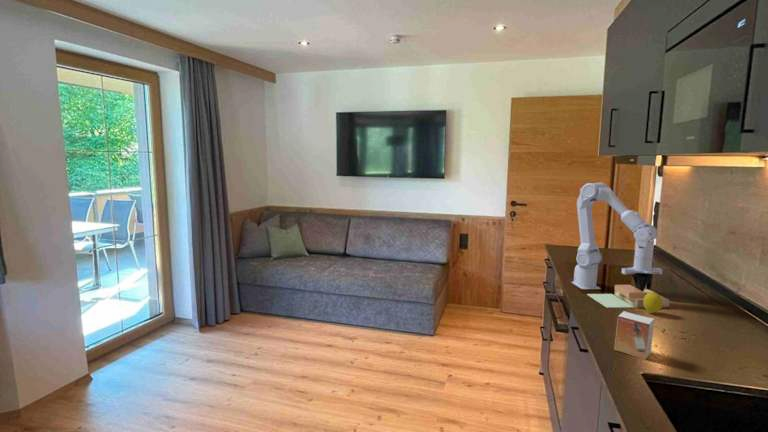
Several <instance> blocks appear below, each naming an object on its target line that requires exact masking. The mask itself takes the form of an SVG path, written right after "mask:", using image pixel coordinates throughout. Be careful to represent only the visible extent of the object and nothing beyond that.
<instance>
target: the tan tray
mask: <svg viewBox="0 0 768 432" xmlns="http://www.w3.org/2000/svg"><path fill="white" fill-rule="evenodd" d="M643 292H645V295H646V294H648V293H650V292H653V290H651V289H648V288H646V287H645V289H644V291H643ZM657 294H658V295H660V294H659V293H657ZM613 295H615V296H616V297H618V298H620V299H622V300H623V301H625V302H627V303H628V304H630V305H632V306H633V307H634V308H636V309H645V307H644V305H643V300H644V298H628V297H627V296H625V295H623V294H621V293H619V292H618V291H616V290H614V294H613ZM660 297H661V299H662V307H661V309H667V308H666V307H670V299H668V298H666V297H664V296H663V295H660Z"/></svg>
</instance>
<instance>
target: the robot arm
mask: <svg viewBox="0 0 768 432" xmlns="http://www.w3.org/2000/svg"><path fill="white" fill-rule="evenodd" d="M597 201H603V202H605V203H607V204H608V205H609V206H610V207H611V208H612V209H614V210H615V212H616V213H618V214H619V215H620V220H621V222H622V223H623V224H624V225H625V226H626V227H627V228H628V229H629V230H630V231H631V232H632V233H633V237H634V239H635V249H634V259H633V266H631V267H622V268H621V274H622V275H631V277H632V279H633V282H634V285H635V286H634V287H635V288H637V289H639V290H641V291H644V289H645V288H646V287H647V285H648V284H649V282H650V281H651V280H652V279H653V275H654V274H655V275H663V269H662V268H659V267H652V266H653V265H652V264H653V256H654V244H655V239H657V237H658V233H659V232H658V230H657V228H656V226H654V225H652V224H649V222H648V221H646V220H644V219H643V218H642V217H641V216H640V213H639V211H635V210H631V209H629V208H628V207H626V205H625V204H624V203H623V202H622V200H620V198H619V197H618V196H617V195H616V194H615V193H614V191H613V190H612V188H611V187H609V186H608V185H607V184H606V183H605V182H602V181H599V182H588V183H585V184H584V185H583V186H582V187H580V188H579V196H578V198H577V200H576V209H577V220H578V228H579V229H578V230H579V238H580V239H579V240H580V245H579V246H578V247H577V254H576V258H575V260H576V262H577V264H576V265H575V267H574V272H573V281H571V283H572V284H573V285H574V286H576V287H578V288H579V289H580V290H601V287H600V286H597V281H598V271H599V270H598V269H599V264H600V263H601V262H602V259H603V256H602V254H601V252H600V250H599V249H600V247H599V246H598V244H597V243H596V239H595V229H594V218H593V210H592V206H593V205H594V204H596V202H597Z"/></svg>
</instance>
